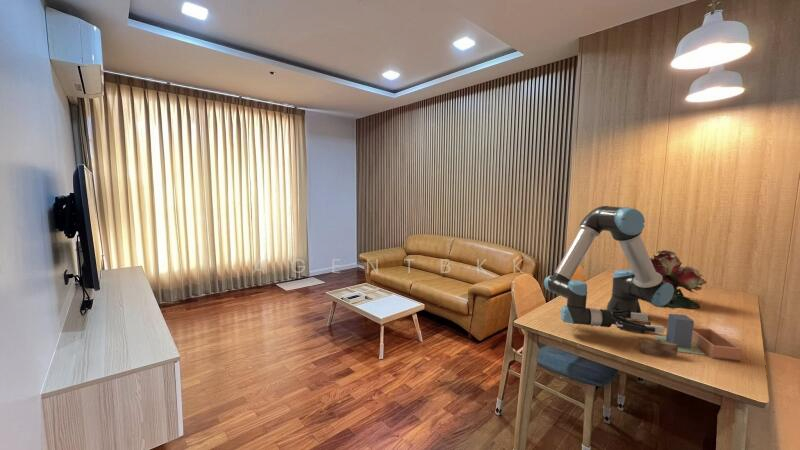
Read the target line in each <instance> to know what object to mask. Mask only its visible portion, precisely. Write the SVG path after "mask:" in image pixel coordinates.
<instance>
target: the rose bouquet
mask: <svg viewBox="0 0 800 450" xmlns="http://www.w3.org/2000/svg"><path fill="white" fill-rule="evenodd" d="M650 259H651V262H652V264H653V266H654V269H655V271H656V272H657V273H659V274H661V276H662V277H663V280H664V282H666V283H667V282H668V283H670V284H672V285H673V287H674V294H673V296H672V299H671V300H670V301H669V302H668V303H667V304H666V305H663V306H658V305H655V304H652V305H653V306H655V307H656V308H661V309H666V308H668V309H683V308H686V309H694V308H700V306H701V305H700V303H699V302H697V301H695V300H694V299H691V298H689V297H687V296H685V295H684V293H683V292H682V290H681V288H683V289H685V290H686V291H688V292H690V293H694V294H696V295H698V293H697V292H695V291H701V290H702V287H703V285H705V284H707V281H706V280H705V279H703V278H702V277H704V275H702V274H701V273H700V272H699V270H698V269H697V268H694V267H693V266H682V264H683V262H681V260H680V258H679V257H678V256H677V254H676V252H675V251H673V250H667V249H662V250H658V251H656V254H653V257H652V258H651V257H650ZM679 287H681V288H679Z"/></svg>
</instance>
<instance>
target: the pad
mask: <svg viewBox="0 0 800 450" xmlns="http://www.w3.org/2000/svg"><path fill="white" fill-rule="evenodd" d="M666 336H667V335H657V334H653V337H654V338H655V339H657V341H658V342H666V343H669V342H668V341H667V340H666ZM677 353H682V354H683V353H684V354H693V355H701V356H706V355H707V354H706V353H705V352H703V351H702V350H701V349H699V348H698V347H697V346H696V345H694V344H693V343H692V342H691V349H690V348H682V347H678V352H677Z"/></svg>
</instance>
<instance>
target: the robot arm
mask: <svg viewBox="0 0 800 450" xmlns="http://www.w3.org/2000/svg"><path fill="white" fill-rule="evenodd" d="M645 220H646V219H645V217H644V215H643V213H642V212H641V211H640V210H639V209H638V208H637V209H636V208H632V207H630V206H629V207H628V206H624V207H621V206H619V207H618V206H610V205H609V206H608V205H603V206H601V205H600V206H598V207H596V208H594V209H593V210H591V211H590V212H589V213H587V214H586V216H585V217H584V218H583V219H582V220H581V222H580V224H579V226H578V229H579V230H578V232H577V234H576V235H575V237H574V238H573V240H572V242H571V244H570V246H569V247H568V249H567V251H566V252H565V254H564V256H563V257H562V258H561V261H560V263H559V264H558V265H557V268H556V269H555V271H554V273H553V275H548V276H547V277H545V278H544V280H543V286H544V288H545V289H546V290H548V291H549V292H551V293H553V294H556V295H558V296H560V297H563V298H565V299H566V300H567V301H566V305H562V306H561V307H560V308H561V309H560V318H561V319H560V320H562V322H563V323H567V324H573V325H584V326H590V327H602V328H611V327H612V325H615V326H616V328H617V329H619V328H621V329H626V330H625V331H631V332H635V333H639V334H642V335H646V333H656V334H664V331H665V327H664V326H663V325H662V326H661V325H645V326H644V325H641V324H637V323H634V322H631V321H628V320H627V319H635V320H646V321H649V314H648V313H642V309H641V306H640V302H639V300H641V301H643V302H647V303H649V304H651V305H653V304H655V305H658V306H663V305H666V304H667V303H668V302H669V301H670V300H671V299H672V296H673V294H674V287H673V285H672V284H670V283H668V282H667V283H666V282H664V280H663V277H662V276H661V274H659V273H657V272H656V271H655V269H654V266H653V264H652V262H651V259H650V258H651V257H650V255H649V253H648V251H647V249H646V246H645V243H644V241H643V239H642V237H641V234H642V233H643V230H644V229H645V226H646V225H645V224H646V221H645ZM603 231H606V232H609V233H610V235H611V236H612V239H613V240H615V241H618V243H619V245H620V248H621V249H622V252H623V254H624V256H625V258H626V260H627V262H628V265H629V266H630V269H617V270H615V271H614V272H613V277H612V290H611V291H612V293H611V297H610V299H609V300H608V303H607V305H606V309H603V308H602V309H599V308H592V307H587V299H588V297H587V296H588V284H587V283H586V282H584V281H582V280H577V279H573V280H572V277H573V276H574V273H576V270H577V269H578V267H579V265H580V264H581V262H582V260H583V259H584V257H585V255H586V254H587V252H588V250H589V249H590V247H591V245H592V243H593V242H594V240H595V238H596V237H599V236H600V234H601V232H603ZM655 305H654V306H655ZM621 329H620V330H621Z"/></svg>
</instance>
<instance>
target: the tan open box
mask: <svg viewBox="0 0 800 450" xmlns="http://www.w3.org/2000/svg"><path fill="white" fill-rule="evenodd" d="M691 343H692V344H693V345H694V346H696V347H697V348H698V349H699V350H701V351H702V352H703V353H705V354H706V355H707V356H708V357H710V358H711V359H713V360H714V359H715V360H725V361H731V362H741V360H742V359H741V358H742V357H741V356H742V348H741V347H739V346H738V345H736V344H735V343H733V342H731V341H730V340H728V339H727V338H725V337H723V336H722V335H721V334H719V332H716V331H715V330H713V329H710V328H700V327H693V333H692V341H691Z"/></svg>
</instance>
